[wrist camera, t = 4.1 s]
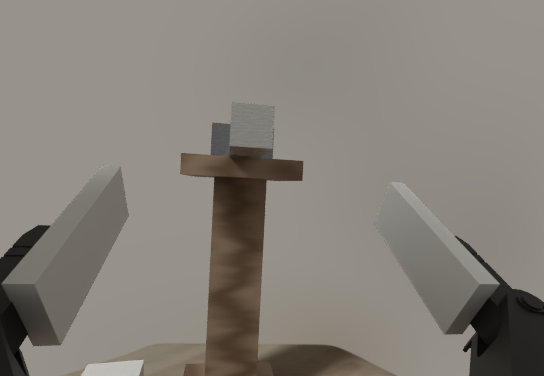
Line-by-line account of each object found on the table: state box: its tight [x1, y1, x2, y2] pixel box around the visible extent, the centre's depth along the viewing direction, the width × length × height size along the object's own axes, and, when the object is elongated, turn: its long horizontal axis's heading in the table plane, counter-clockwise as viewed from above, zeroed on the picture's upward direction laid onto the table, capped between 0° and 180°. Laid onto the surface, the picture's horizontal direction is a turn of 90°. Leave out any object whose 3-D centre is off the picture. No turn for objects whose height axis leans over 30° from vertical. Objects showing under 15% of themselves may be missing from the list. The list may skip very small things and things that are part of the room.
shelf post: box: [180, 153, 303, 376], centre depth 35 cm, size 12×13×30 cm
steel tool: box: [211, 102, 275, 159], centre depth 30 cm, size 7×19×4 cm, turn 9°
